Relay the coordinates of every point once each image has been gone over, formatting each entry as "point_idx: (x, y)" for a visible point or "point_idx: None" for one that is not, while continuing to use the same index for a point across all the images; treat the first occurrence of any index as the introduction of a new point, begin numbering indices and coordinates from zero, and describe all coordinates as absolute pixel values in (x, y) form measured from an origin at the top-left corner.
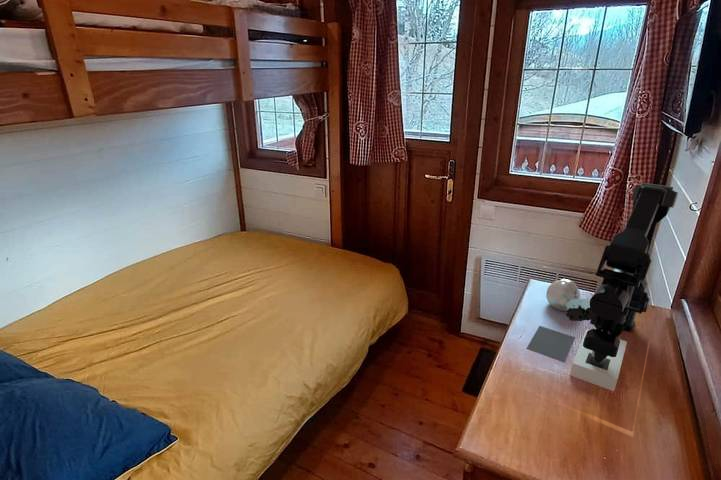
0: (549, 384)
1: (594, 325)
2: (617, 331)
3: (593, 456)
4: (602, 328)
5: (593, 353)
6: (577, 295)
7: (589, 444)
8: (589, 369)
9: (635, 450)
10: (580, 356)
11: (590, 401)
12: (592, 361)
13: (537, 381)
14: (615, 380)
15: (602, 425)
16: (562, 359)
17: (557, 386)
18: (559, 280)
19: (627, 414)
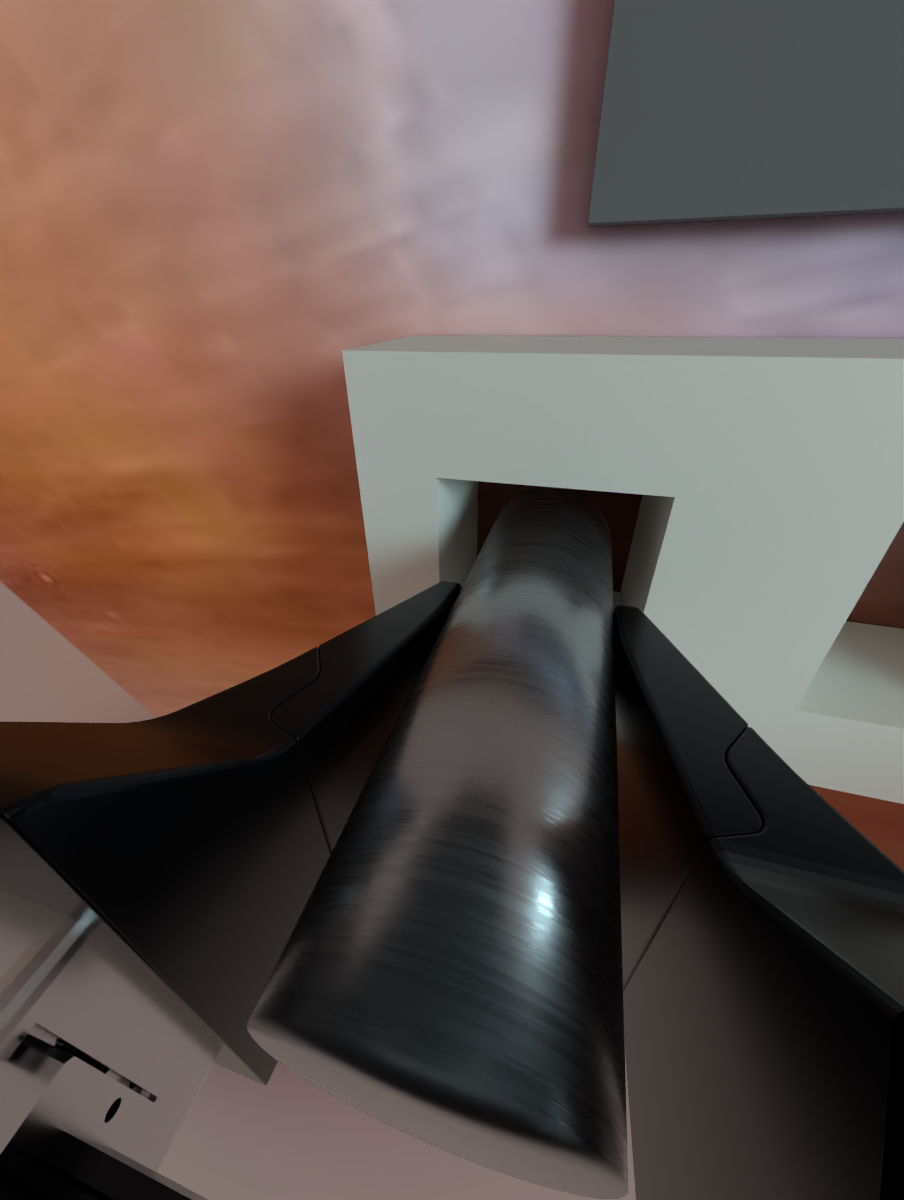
0: (210, 187)
1: (869, 1013)
2: (653, 1196)
3: (12, 544)
4: (560, 1146)
5: (474, 587)
6: None
7: (41, 527)
8: (368, 522)
9: (167, 667)
10: (524, 414)
11: (276, 512)
12: (485, 545)
13: (153, 37)
14: None
15: (174, 570)
16: (635, 175)
17: (240, 269)
18: None
19: None
